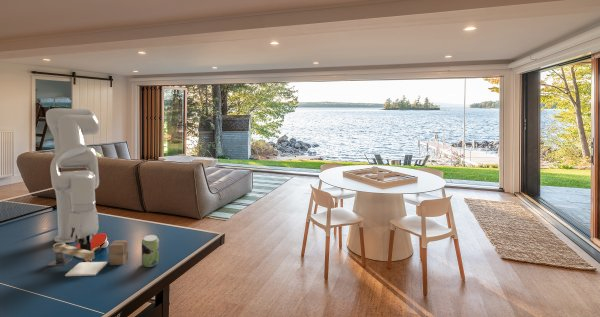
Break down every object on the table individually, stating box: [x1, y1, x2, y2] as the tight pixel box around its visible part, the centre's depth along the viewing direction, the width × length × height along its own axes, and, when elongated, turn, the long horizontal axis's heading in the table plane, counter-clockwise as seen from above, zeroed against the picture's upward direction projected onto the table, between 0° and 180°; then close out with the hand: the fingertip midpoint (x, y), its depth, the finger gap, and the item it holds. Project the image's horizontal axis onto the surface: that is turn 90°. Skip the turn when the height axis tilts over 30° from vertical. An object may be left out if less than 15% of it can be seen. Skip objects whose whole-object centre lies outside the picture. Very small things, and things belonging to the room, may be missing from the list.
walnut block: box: [108, 239, 129, 266], centre depth 129 cm, size 5×5×8 cm
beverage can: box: [141, 234, 160, 268], centre depth 127 cm, size 6×7×12 cm
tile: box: [64, 261, 108, 277], centre depth 123 cm, size 10×10×1 cm
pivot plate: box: [46, 257, 73, 267], centre depth 128 cm, size 6×6×1 cm
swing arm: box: [52, 242, 96, 262], centre depth 124 cm, size 20×4×6 cm, turn 69°
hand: (85, 252), depth 126 cm, fingers closed
